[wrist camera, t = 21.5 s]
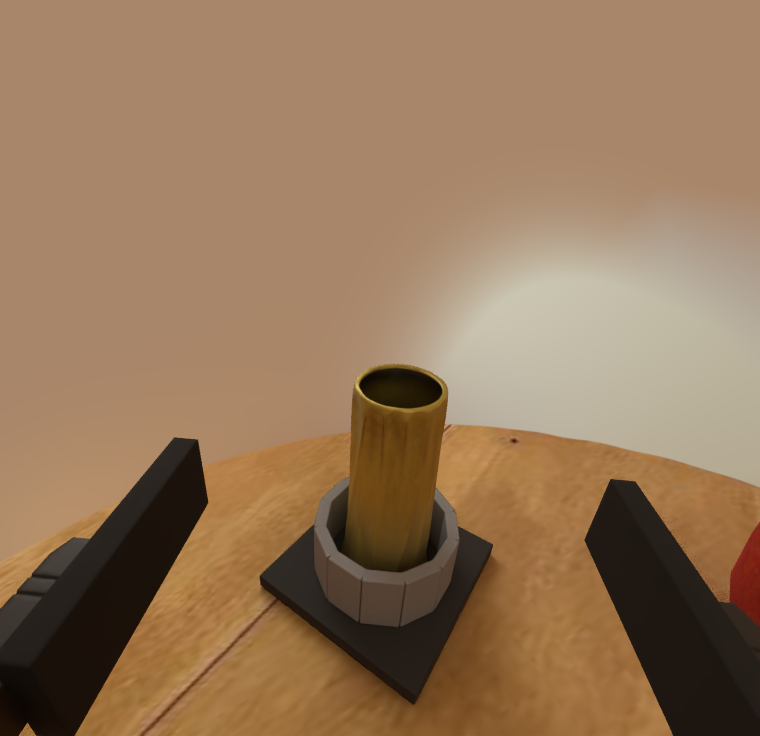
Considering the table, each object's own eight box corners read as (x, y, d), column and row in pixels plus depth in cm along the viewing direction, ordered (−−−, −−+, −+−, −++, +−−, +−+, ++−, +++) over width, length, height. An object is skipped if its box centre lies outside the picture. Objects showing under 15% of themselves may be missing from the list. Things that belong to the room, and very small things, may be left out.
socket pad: (260, 585, 28) (254, 533, 26) (363, 485, 37) (365, 440, 35) (413, 705, 23) (424, 653, 20) (490, 553, 32) (503, 505, 29)
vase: (329, 588, 27) (331, 404, 21) (353, 517, 33) (361, 353, 26) (421, 610, 26) (454, 424, 20) (430, 533, 32) (458, 368, 25)
